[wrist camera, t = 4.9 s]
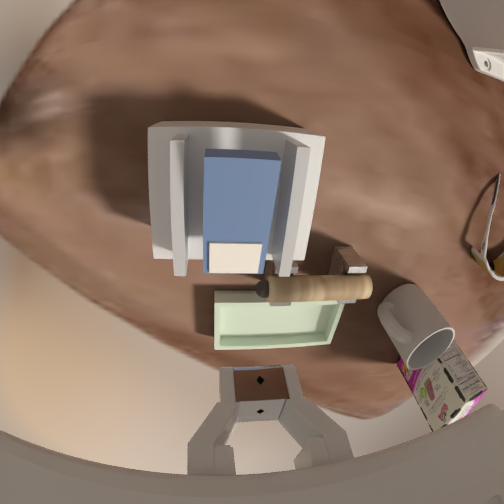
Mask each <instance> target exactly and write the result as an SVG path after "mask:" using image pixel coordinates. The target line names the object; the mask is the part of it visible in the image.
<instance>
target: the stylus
mask: <svg viewBox="0 0 504 504" xmlns="http://www.w3.org/2000/svg"><path fill="white" fill-rule="evenodd" d="M372 290H373V284H372V280H371V277H370V276H369V275H367V274H365V275H290V277H279V276H267V277H266V280H262V281H260V282H258V283H257V285H256V287H255V291H256V294H257V295H258V296H259V297H261V298H266V301H267V303H277V302H311V301H334V300H354V299H368V298H369V297H370V296H371V294H372Z"/></svg>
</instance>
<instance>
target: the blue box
mask: <svg viewBox="0 0 504 504" xmlns="http://www.w3.org/2000/svg"><path fill="white" fill-rule="evenodd" d="M280 167H281V159H280V157H279V155H278V153H277V152H268V151H254V150H235V149H205V156H204V189H203V274H263V271H264V266H265V260H266V254H267V248H268V242H269V236H270V230H271V224H272V217H273V211H274V205H275V199H276V193H277V186H278V180H279V174H280Z"/></svg>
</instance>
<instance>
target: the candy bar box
mask: <svg viewBox="0 0 504 504" xmlns="http://www.w3.org/2000/svg"><path fill="white" fill-rule="evenodd" d="M397 366H398V368H399V370H400V371H401V373H402V375H403V377H404V379H405V380H406V382H407V384H408V386H409V388H410V389H411V391H412V393H413V395H414V397H415V399H416V400H417V402H418V405H419V407H420V408H421V410H422V412H423V414H424V416H425V418H426V420H427V422H428V424H429V426H430V428H431V430H432V432H433V431H435V430H438V429H440V428H442V427H444V426H447V425H449V424H451V423H453V422H455V421H457V420H459V419H461V418H463V417H465V416H466V415H467V414H468V412H469V411H470V410H471V409H472V408H473V407H474V405H475V404H476V403H477V402H478V401H479V399H480V398H481V397H482V396H483V394H484V393H485V392H486V391H487V387H486V385H485V384H484V382H483V381H482V379H481V378H480V377H479V375H478V374H477V372H476V371H475V369H474V368H473V366H472V365H471V363H470V362H469V360H468V359H467V358H466V356H465V355H464V354H463V352H462V351H461V349H460V348H459V347H458V345H457V344H456V343H455V341H454V340H453V341H452V343H451V345H450V346H449V348H448V349H447V350H446V351H445V352H444V353H443V354H442V355H441V356H440V357H439V358H438V359H437V360H435V361H434V362H432V363H431V364H429V365H428V366H426V367H423V368H421V369H418V370H410V369H408V368H407V367H406V365H405V363H404V361H403V360H402V358H401V356H400V357H399V360H398V363H397Z"/></svg>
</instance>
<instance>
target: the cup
mask: <svg viewBox="0 0 504 504" xmlns="http://www.w3.org/2000/svg"><path fill="white" fill-rule="evenodd" d="M377 314H378V317H379V320H380V322H381V324H382V325H383V327H384V329H385V330H386V332H387V334H388V335H389V337H390V339H391V341H392V342H393V344H394V346H395V347H396V349H397V351H398V353H399V354H400V356H401V358H402V360H403V361H404V363H405V365H406V367H407V368H408V369H410V370H418V369H421V368H423V367H426V366H428V365H429V364H431V363H432V362H434V361H435V360H437V359H438V358H439V357H440V356H441V355H442V354H443V353H444V352H445V351H446V350H447V349H448V348H449V346H450V345H451V343H452V341H453V339H454V336H455V331H454V329H453V328H452V326H451V325H450V324H449V322H448V321H447V320H446V319H445V317H444V316H443V315H442V313H441V312H440V311H439V310H438V308H437V307H436V306H435V305H434V303H433V302H432V301H431V300H430V299H429V297H428V296H427V295H426V294H425V293H424V291H423V290H422V289H421V288H420V287H419V286H417V285H416V284H403V285H401V286H398V287H397V288H395V289H393V290H392V291H391V292H390V293H389V294H388V295H387V296H386V297H385V298H384V300H383V301H382V303H381V304H380V305H379V306H378V309H377Z"/></svg>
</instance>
